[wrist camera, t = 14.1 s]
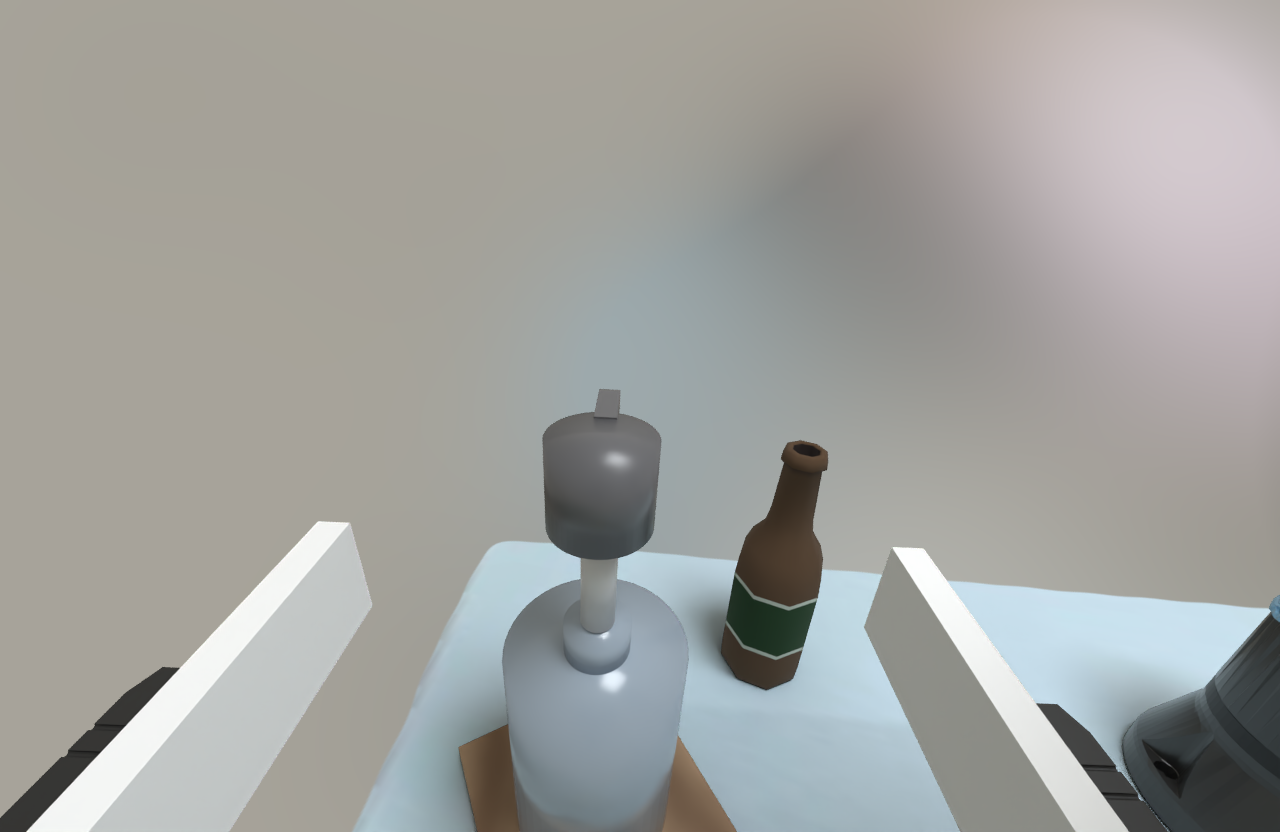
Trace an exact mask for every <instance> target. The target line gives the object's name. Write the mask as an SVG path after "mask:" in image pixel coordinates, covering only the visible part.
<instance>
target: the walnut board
mask: <svg viewBox="0 0 1280 832" xmlns="http://www.w3.org/2000/svg"><path fill="white" fill-rule="evenodd" d="M459 753H460V758H461V762H462V767H463V771H464V775H465V780H466V784H467V788H468V793H469V797H470V802H471V806H472V810H473V815H474V819H475V824H476V828H477V832H520V831H519V827H518V819H517V809H516V798H515V788H514V778H513V768H512V757H511V747H510V737H509V726H508V724H507V725H505V726H503V727H501V728H499V729H497V730H494V731H492V732H490V733H488V734H486V735H484V736H482V737H479V738H477V739H475V740H473V741H471V742H469V743H467V744H464V745H462V746H460V747H459ZM662 832H737V831H736V829H735V828H734V826H733V825H732V823H731V821H730V820H729V818H728V816H727V815H726V813H725V811H724V810H723V808H722V807H721V805H720V803H719V802H718V800H717V798H716V797H715V795H714V793H713V792H712V790H711V789H710V787H709V785H708V784H707V782H706V780H705V779H704V777H703V775H702V774H701V772H700V771H699V769H698V767H697V766H696V764H695V762H694V761H693V759H692V757H691V756H690V754H689V753H688V751H687V749H686V748H685V746H684V744H683V743H682V741H681V739H680V738H679V736H677V743H676V750H675V757H674V763H673V770H672V777H671V784H670V791H669V798H668V805H667V811H666V818H665V823H664V827H663V830H662Z"/></svg>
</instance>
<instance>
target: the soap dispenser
mask: <svg viewBox="0 0 1280 832" xmlns="http://www.w3.org/2000/svg"><path fill="white" fill-rule="evenodd" d="M580 615H581V579H579V580H574V581H570V582H567V583H564V584H561V585H559V586H556V587H554V588H552V589H550V590H548V591H546V592H544V593H543V594H541V595H540V596H538V597H537V598H535V599H534V600H533V601H532V602H531V603H529V604H528V605H527V606H526V607H525V608H524V609H523V610H522V612H521V613H520V614H519V615H518V617H517V618H516V619H515V621H514V622H513V624H512V626H511V628H510V630H509V632H508V635H507V637H506V640H505V644H504V649H503V658H502V664H503V675H504V685H505V696H506V706H507V716H508V726H509V737H510V747H511V757H512V768H513V778H514V788H515V798H516V809H517V819H518V827H519V831H520V832H662V830H663V827H664V823H665V818H666V811H667V805H668V798H669V791H670V784H671V777H672V770H673V763H674V757H675V750H676V743H677V736H678V729H679V722H680V716H681V709H682V702H683V695H684V688H685V681H686V674H687V667H688V660H689V656H688V644H687V638H686V635H685V632H684V629H683V627H682V625H681V623H680V621H679V619H678V618H677V616H676V615H675V613H674V612H673V611H672V610H671V608H670V607H669V606H668V605H667V604H666V603H665V602H664V601H663V600H661V599H660V598H659V597H658V596H656V595H655V594H653V593H652V592H650V591H648V590H647V589H645V588H643V587H641V586H638V585H636V584H633V583H630V582H627V581H623V580H618V579H617V588H616V609H615V622H614V625H613V626H612V627H611V628H610V629H609V630H608V631H605V632H602V633H592V632H589V631H587V630H586V629H585V628H584V627H583V626H582V624H581V620H580Z"/></svg>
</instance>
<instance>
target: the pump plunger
mask: <svg viewBox="0 0 1280 832" xmlns="http://www.w3.org/2000/svg"><path fill="white" fill-rule="evenodd" d="M619 409H620V390H609V389H600V390H599V394H598V399H597V403H596V408H595V412H590V413H581V414H577V415H572V416H568V417H565V418H563V419H560V420H558V421H556V422H555V423H553V424H552V425H551V426H550V427H548V428H547V430H546V431H545V433H544V434H543V465H544V495H545V523H546V532H547V535H548V537H549V539H550V540H551V541H552V542H553V543H554V544H555V545H556V546H557V547H558V548H559V549H561V550H562V551H564V552H566V553H568V554H570V555H573V556H576V557H579V558H581V615H580V620H581V624H582V626H583V627H584V628H585V629H586V630H587V631H589V632H592V633H602V632H605V631H608V630H609V629H610V628H611V627H612V626H613V625H614V622H615V609H616V588H617V567H618V558H620V557H623V556H627V555H629V554H631V553H633V552H635V551H637V550H639V549H640V548H641V547H643V546H644V545H645V544H646V543H647V542H648V541H649V539H650V538H651V536H652V534H653V530H654V521H655V509H656V498H657V486H658V475H659V463H660V451H661V437H660V435H659V433H658V432H657V431H656V429H655V428H653V426H651V425H650V424H648V423H646V422H645V421H643V420H640V419H638V418H635V417H632V416H628V415H624V414H619Z"/></svg>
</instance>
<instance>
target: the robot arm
mask: <svg viewBox="0 0 1280 832" xmlns="http://www.w3.org/2000/svg"><path fill="white" fill-rule="evenodd" d="M371 607H372V602H371V598H370V595H369V591H368V587H367V584H366V580H365V576H364V573H363V569H362V565H361V562H360V558H359V554H358V551H357V547H356V543H355V539H354V536H353V532H352V528H351V525H350V523H342V522H320V521H319V522H317V523H316V524H315V525H314V526H313V528H312V529H311V530H310V531H309V532H308V533H307V534H306V535H305V536H304V537H303V538H302V539H301V540H300V541H299V542H298V543H297V545H296V546H295V547H294V548H293V549H292V550H291V551H290V552H289V553H288V554H287V555H286V556H285V557H284V558H283V559H282V560H281V561H280V563H279V564H278V565H277V566H276V567H275V568H274V569H273V570H272V571H271V572H270V573H269V574H268V576H266V577H265V578H264V580H263V581H262V582H261V583H260V584H259V585H258V586H257V587H256V588H255V589H254V590H253V591H252V593H250V594H249V596H248V597H247V598H246V599H245V600H244V601H243V602H242V603H241V604H240V605H239V606H238V607H237V608H236V609H235V610H234V611H233V613H232V614H231V615H230V616H229V617H228V618H227V619H226V620H225V621H224V622H223V623H222V624H221V625H220V626H219V627H218V629H217V630H216V631H215V632H214V633H213V634H212V635H211V636H210V637H209V638H208V639H207V640H206V641H205V642H204V643H203V644H202V646H201V647H200V648H199V649H198V650H197V651H196V652H195V653H194V654H193V655H192V656H191V657H190V658H189V659H188V661H186V662H185V664H184V665H183V666H182V667H181V668H170V667H162V668H161V669H159V670H158V671H157V672H155V673H154V674H152V675H151V676H149V677H148V678H147V679H145V680H143V681H142V682H141V683H139V684H138V685H136V686H135V687H133V688H132V689H130V690H129V691H127V692H126V693H125V694H124V695H123V696H122V697H121V698H120V699H119V700H118V701H117V702H116V703H115V704H114V705H113V706H112V707H111V708H110V709H109V710H108V711H107V712H106V713H105V714H104V715H103V716H102V717H101V718H100V719H99V720H98V721H97V722H96V723H95V726H94V728H93V729H92V730H88V731H87V732H86V733H85V734H84V735H83V736H82V737H81V738H80V739H79V740H78V741H77V742H76V743H75V744H74V745H73V746H72V747H71V748H70V749H69V750H68V754H67V755H66V756H65V757H61V758H60V759H59V760H58V761H57V762H56V763H55V764H54V765H53V766H52V767H51V768H50V769H49V770H48V771H47V772H46V773H45V774H44V775H43V776H42V777H41V778H40V779H39V780H38V781H37V782H36V783H35V784H34V785H33V786H32V787H31V788H30V789H29V790H28V791H27V792H26V793H25V794H24V795H23V796H22V797H21V798H20V799H19V800H18V801H17V802H16V803H15V804H14V805H13V806H12V807H11V808H10V809H9V810H8V811H7V812H6V813H5V814H4V815H3V816H2V817H1V818H0V832H229V831H230V830H231V828H232V826H233V824H234V823H235V822H236V820H237V818H238V817H239V815H240V814H241V812H242V811H243V809H244V807H245V806H246V804H247V803H248V801H249V800H250V798H251V796H252V795H253V793H254V792H255V790H256V789H257V787H258V785H259V784H260V782H261V781H262V779H263V778H264V776H265V774H266V773H267V771H268V769H269V768H270V766H271V765H272V763H273V762H274V760H275V758H276V757H277V755H278V754H279V752H280V751H281V749H282V747H283V746H284V744H285V743H286V741H287V740H288V738H289V736H290V735H291V733H292V732H293V730H294V729H295V727H296V725H297V724H298V722H299V721H300V719H301V718H302V716H303V714H304V713H305V711H306V710H307V708H308V707H309V705H310V703H311V702H312V700H313V699H314V697H315V695H316V694H317V692H318V691H319V689H320V688H321V686H322V684H323V683H324V681H325V679H326V678H327V677H328V675H329V673H330V672H331V670H332V669H333V667H334V665H335V664H336V662H337V661H338V659H339V658H340V656H341V654H342V653H343V651H344V650H345V648H346V647H347V645H348V643H349V642H350V640H351V638H352V637H353V636H354V634H355V632H356V631H357V629H358V628H359V626H360V624H361V623H362V621H363V620H364V618H365V617H366V615H367V613H368V612H369V610H370V609H371ZM1269 609H1270V610H1271V612H1270V613H1269V615H1268V616H1267V617H1266V618H1265V619H1264V620H1263V621H1262V622H1261V624H1260V625H1259V626H1258V627H1257V628H1256V629H1255V630H1254V631H1253V633H1252V634H1251V635H1250V636H1249V637H1248V638H1247V639H1246V640H1245V642H1244V643H1243V644H1242V645H1241V646H1240V647H1239V648H1238V650H1237V651H1236V652H1235V653H1234V654H1233V655H1232V656H1231V657H1230V659H1229V660H1228V661H1227V662H1226V663H1225V664H1224V665H1223V666H1222V668H1221V669H1220V670H1219V671H1218V672H1217V674H1216V675H1215V676H1214V677H1213V678H1212V680H1211V681H1210V682H1209V683H1208V684H1207V685H1206V686H1205V687H1204V688H1203V689H1200V690H1197V691H1195V692H1192V693H1190V694H1187V695H1184V696H1182V697H1179V698H1177V699H1174V700H1171V701H1169V702H1166V703H1164V704H1161V705H1158V706H1156V707H1153V708H1151V709H1149V710H1147V711H1145V712H1144V713H1143V714H1141V715H1140V716H1139V717H1138V718H1137V719H1136V721H1135V722H1134V723H1133V724H1132V726H1131V727H1130V728H1129V730H1128V731H1127V732H1126V734H1125V737H1124V741H1123V751H1124V757H1125V761H1126V764H1127V767H1128V769H1129V771H1130V774H1131V776H1132V778H1133V780H1134V782H1135V783H1136V785H1137V787H1138V788H1139V790H1140V792H1141V793H1142V795H1143V796H1144V798H1145V799H1146V800H1147V802H1148V803H1149V804H1150V806H1151V807H1152V808H1153V810H1154V811H1155V812H1156V813H1157V815H1158V816H1159V817H1160V818H1161V819H1162V821H1163V822H1164V823H1165V824H1166V825H1167V826H1168V827H1169V828H1170V829H1171V831H1172V832H1280V595H1278V596H1277V597H1275V598H1274V599H1273V601H1272V603H1271V604H1270V606H1269ZM864 628H865V630H866V632H867V634H868V637H869V639H870V641H871V643H872V645H873V647H874V649H875V651H876V654H877V656H878V658H879V660H880V662H881V664H882V666H883V668H884V671H885V673H886V675H887V677H888V679H889V681H890V683H891V685H892V687H893V690H894V692H895V694H896V696H897V698H898V700H899V702H900V704H901V707H902V709H903V711H904V713H905V715H906V717H907V719H908V721H909V724H910V726H911V728H912V730H913V732H914V734H915V736H916V738H917V740H918V743H919V745H920V747H921V749H922V751H923V753H924V755H925V757H926V760H927V762H928V764H929V766H930V768H931V770H932V772H933V774H934V776H935V779H936V781H937V783H938V785H939V787H940V789H941V791H942V793H943V796H944V798H945V800H946V802H947V804H948V806H949V808H950V810H951V813H952V815H953V817H954V819H955V821H956V823H957V825H958V827H959V829H960V832H1168V831H1167V830H1166V829H1165V828H1164V826H1163V825H1162V824H1161V822H1160V821H1159V820H1158V819H1157V817H1156V816H1155V815H1154V814H1153V812H1152V811H1151V810H1150V808H1149V807H1148V806H1147V805H1146V803H1145V802H1144V801H1141V800H1140V799H1139V798H1138V793H1137V792H1136V791H1135V789H1134V788H1133V787H1132V786H1131V784H1130V783H1129V782H1128V780H1127V779H1126V778H1125V777H1124V775H1123V774H1122V773H1121V772H1118V771H1117V770H1116V765H1115V764H1114V763H1113V761H1112V760H1111V759H1110V757H1109V756H1108V755H1107V754H1106V752H1105V751H1104V750H1103V749H1102V747H1101V746H1100V745H1099V743H1098V742H1097V741H1096V740H1095V738H1094V737H1093V736H1092V735H1091V733H1090V732H1089V731H1088V730H1086V729H1085V728H1084V727H1083V726H1082V725H1081V724H1079V723H1078V722H1077V721H1076V720H1075V719H1074V718H1072V717H1071V716H1070V715H1069V714H1068V713H1067V712H1066V711H1064V710H1063V709H1062V708H1061V707H1060V706H1059V705H1057V704H1038V703H1035V702H1034V700H1033V699H1032V697H1031V696H1030V695H1029V693H1028V692H1027V691H1026V689H1025V688H1024V686H1023V685H1022V684H1021V682H1020V681H1019V680H1018V678H1017V677H1016V675H1015V674H1014V673H1013V671H1012V670H1011V669H1010V667H1009V666H1008V664H1007V663H1006V662H1005V660H1004V659H1003V658H1002V656H1001V655H1000V653H999V652H998V651H997V649H996V648H995V647H994V645H993V644H992V642H991V641H990V640H989V638H988V637H987V635H986V634H985V633H984V631H983V630H982V629H981V627H980V626H979V624H978V623H977V622H976V620H975V619H974V618H973V616H972V615H971V613H970V612H969V611H968V609H967V608H966V607H965V605H964V604H963V602H962V601H961V600H960V598H959V597H958V596H957V594H956V593H955V591H954V590H953V589H952V587H951V586H950V585H949V583H948V582H947V580H946V579H945V578H944V576H943V575H942V574H941V572H940V571H939V569H938V568H937V567H936V565H935V564H934V563H933V561H932V560H931V558H930V557H929V556H928V554H927V553H926V552H925V550H924V549H921V548H898V547H892V549H891V552H890V554H889V557H888V560H887V563H886V566H885V569H884V572H883V574H882V577H881V580H880V583H879V586H878V589H877V592H876V594H875V597H874V600H873V603H872V606H871V609H870V612H869V615H868V617H867V620H866V623H865V626H864Z"/></svg>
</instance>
